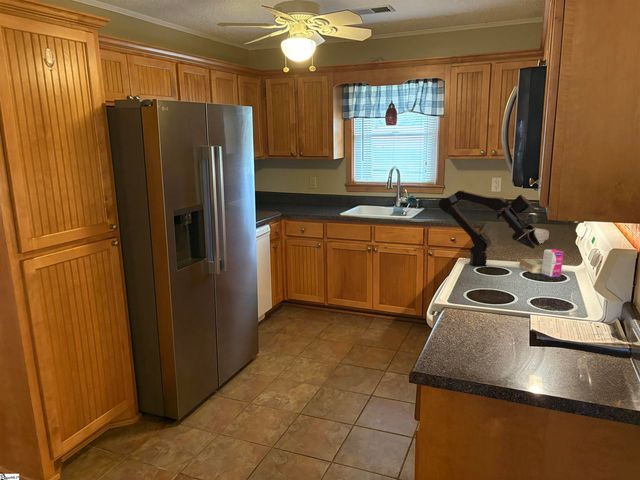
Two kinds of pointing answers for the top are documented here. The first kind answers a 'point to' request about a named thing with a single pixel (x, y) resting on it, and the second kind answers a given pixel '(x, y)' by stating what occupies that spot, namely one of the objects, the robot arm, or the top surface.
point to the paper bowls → (541, 235)
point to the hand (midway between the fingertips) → (536, 246)
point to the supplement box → (552, 263)
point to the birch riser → (532, 265)
